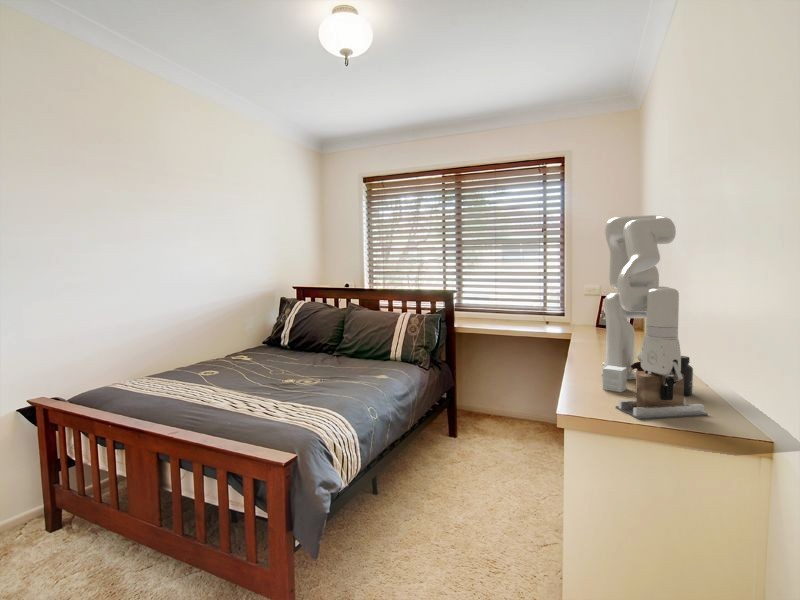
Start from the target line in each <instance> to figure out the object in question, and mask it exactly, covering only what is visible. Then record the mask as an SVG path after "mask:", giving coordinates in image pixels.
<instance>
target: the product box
mask: <svg viewBox="0 0 800 600" xmlns="http://www.w3.org/2000/svg"><path fill="white" fill-rule="evenodd" d="M602 370H603V375H602V390H604V391H611V392H617V393H623V392H624V391H626V389H628V388H627V387H628V380H627V368H625V367H617V366H609V365H608V366H606V367H605V366H603V368H602Z"/></svg>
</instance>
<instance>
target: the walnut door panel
mask: <svg viewBox="0 0 800 600" xmlns="http://www.w3.org/2000/svg"><path fill="white" fill-rule="evenodd" d="M681 375H682V377H683V379H681V380H679V381H678V382H676V383H675V386H673V399H672V400H661V386H662V385H663V381H662V375H659V374H655V373H652V374H637V389H636V400H637V406H636V407H651V406H669V405H684V398H685V396H684V375H683V374H681ZM668 379H669V377H667V380H668Z"/></svg>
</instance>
